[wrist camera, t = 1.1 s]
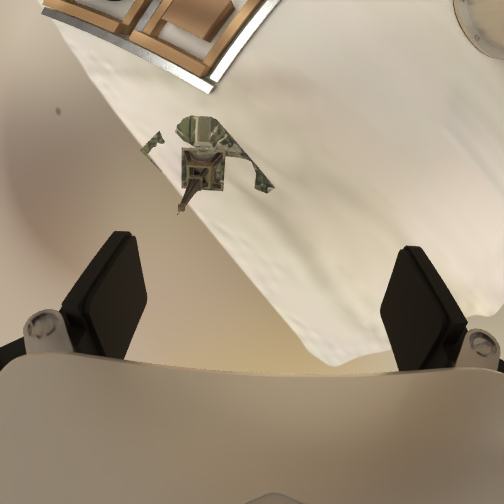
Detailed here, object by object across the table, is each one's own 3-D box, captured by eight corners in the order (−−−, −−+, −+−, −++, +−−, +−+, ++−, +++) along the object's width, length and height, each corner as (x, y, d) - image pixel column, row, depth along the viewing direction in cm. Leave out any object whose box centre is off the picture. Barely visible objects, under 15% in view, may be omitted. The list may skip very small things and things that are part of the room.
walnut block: (198, -10, 26) (188, -20, 22) (235, 9, 28) (230, 0, 23) (174, 24, 29) (161, 18, 24) (210, 42, 30) (202, 38, 26)
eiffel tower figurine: (277, 186, 40) (282, 240, 28) (217, 230, 43) (201, 294, 32) (197, 95, 34) (163, 110, 23) (139, 150, 38) (91, 189, 26)
